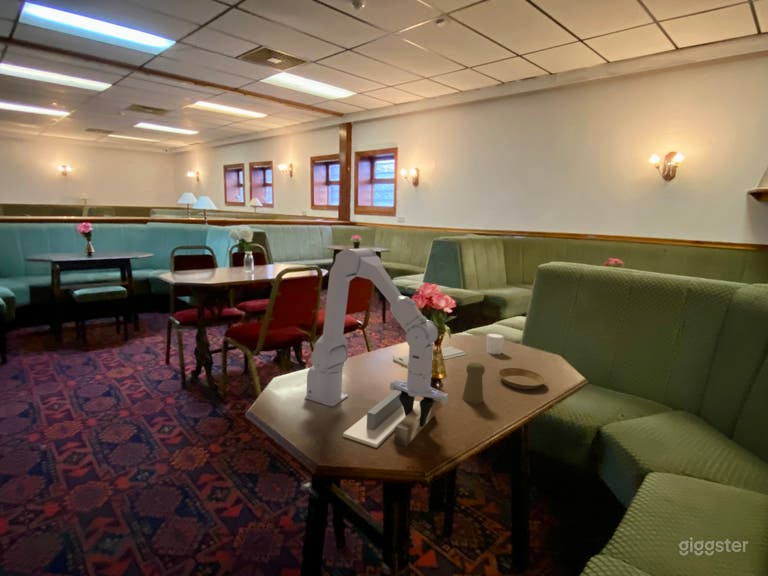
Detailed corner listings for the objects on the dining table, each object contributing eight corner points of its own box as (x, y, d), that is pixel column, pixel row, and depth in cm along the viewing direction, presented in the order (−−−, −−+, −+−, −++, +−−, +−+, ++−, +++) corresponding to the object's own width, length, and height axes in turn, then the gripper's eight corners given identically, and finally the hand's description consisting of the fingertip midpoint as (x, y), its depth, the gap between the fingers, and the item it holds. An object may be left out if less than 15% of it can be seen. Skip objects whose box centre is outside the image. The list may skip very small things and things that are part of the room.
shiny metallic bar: (406, 446, 95) (407, 430, 95) (394, 442, 97) (395, 426, 96) (434, 415, 111) (435, 401, 110) (423, 412, 112) (424, 398, 112)
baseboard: (469, 357, 162) (450, 349, 170) (469, 350, 162) (450, 343, 169) (410, 371, 144) (392, 362, 151) (411, 363, 143) (393, 355, 151)
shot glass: (486, 354, 165) (488, 337, 163) (483, 349, 171) (484, 332, 170) (504, 355, 164) (506, 338, 163) (500, 350, 171) (501, 333, 170)
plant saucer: (551, 384, 138) (552, 376, 138) (534, 397, 127) (535, 389, 127) (508, 371, 148) (509, 364, 147) (489, 382, 137) (490, 375, 136)
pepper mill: (486, 398, 123) (489, 363, 121) (478, 405, 118) (482, 369, 117) (467, 393, 127) (470, 358, 125) (458, 399, 122) (462, 363, 120)
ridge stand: (342, 436, 98) (343, 416, 97) (391, 396, 121) (392, 380, 120) (376, 447, 94) (377, 427, 93) (420, 404, 117) (421, 387, 116)
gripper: (385, 369, 101) (382, 421, 103) (442, 383, 95) (437, 438, 97) (398, 361, 107) (394, 410, 110) (452, 373, 101) (447, 425, 103)
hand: (415, 423), depth 104 cm, fingers closed on shiny metallic bar, 3 cm apart
